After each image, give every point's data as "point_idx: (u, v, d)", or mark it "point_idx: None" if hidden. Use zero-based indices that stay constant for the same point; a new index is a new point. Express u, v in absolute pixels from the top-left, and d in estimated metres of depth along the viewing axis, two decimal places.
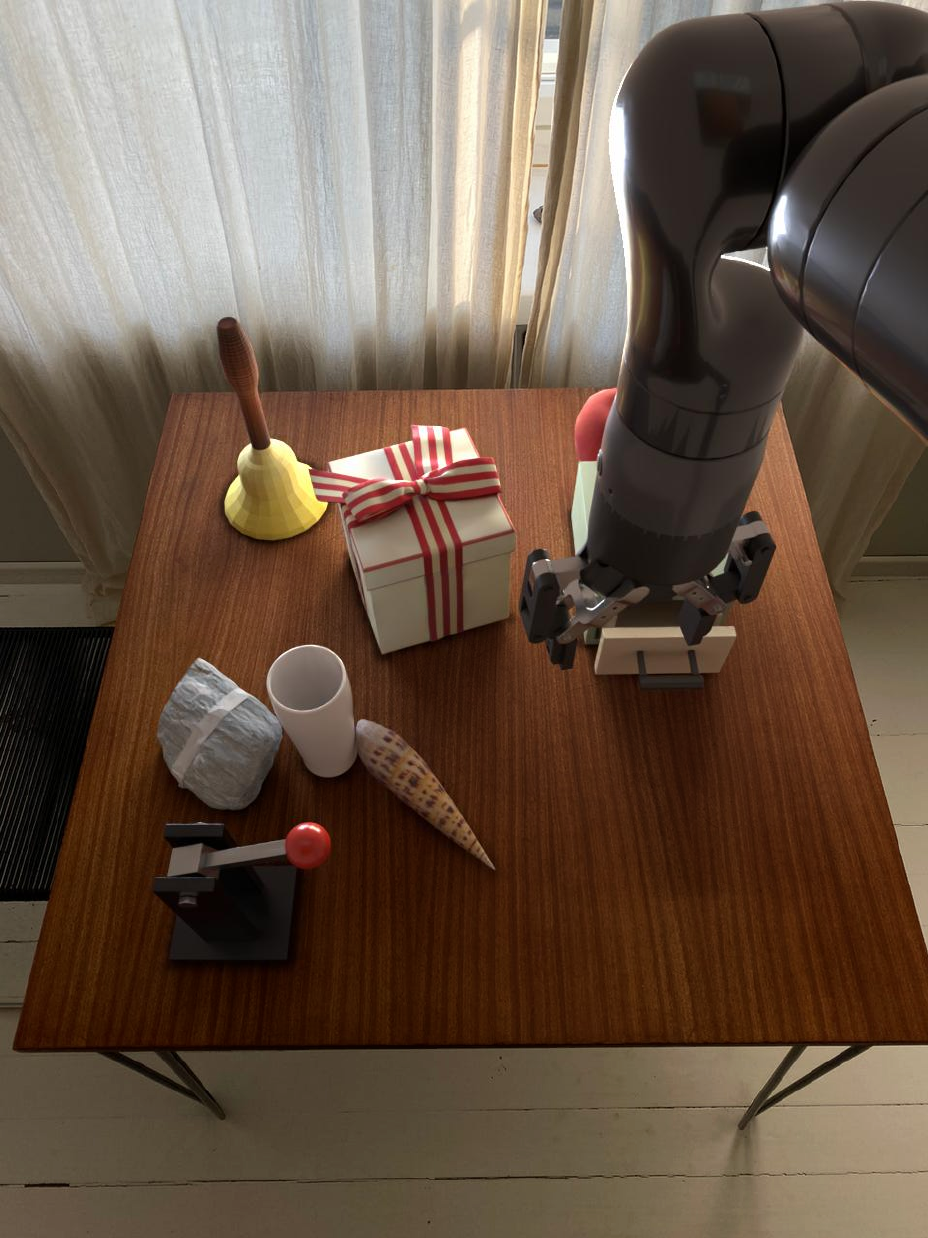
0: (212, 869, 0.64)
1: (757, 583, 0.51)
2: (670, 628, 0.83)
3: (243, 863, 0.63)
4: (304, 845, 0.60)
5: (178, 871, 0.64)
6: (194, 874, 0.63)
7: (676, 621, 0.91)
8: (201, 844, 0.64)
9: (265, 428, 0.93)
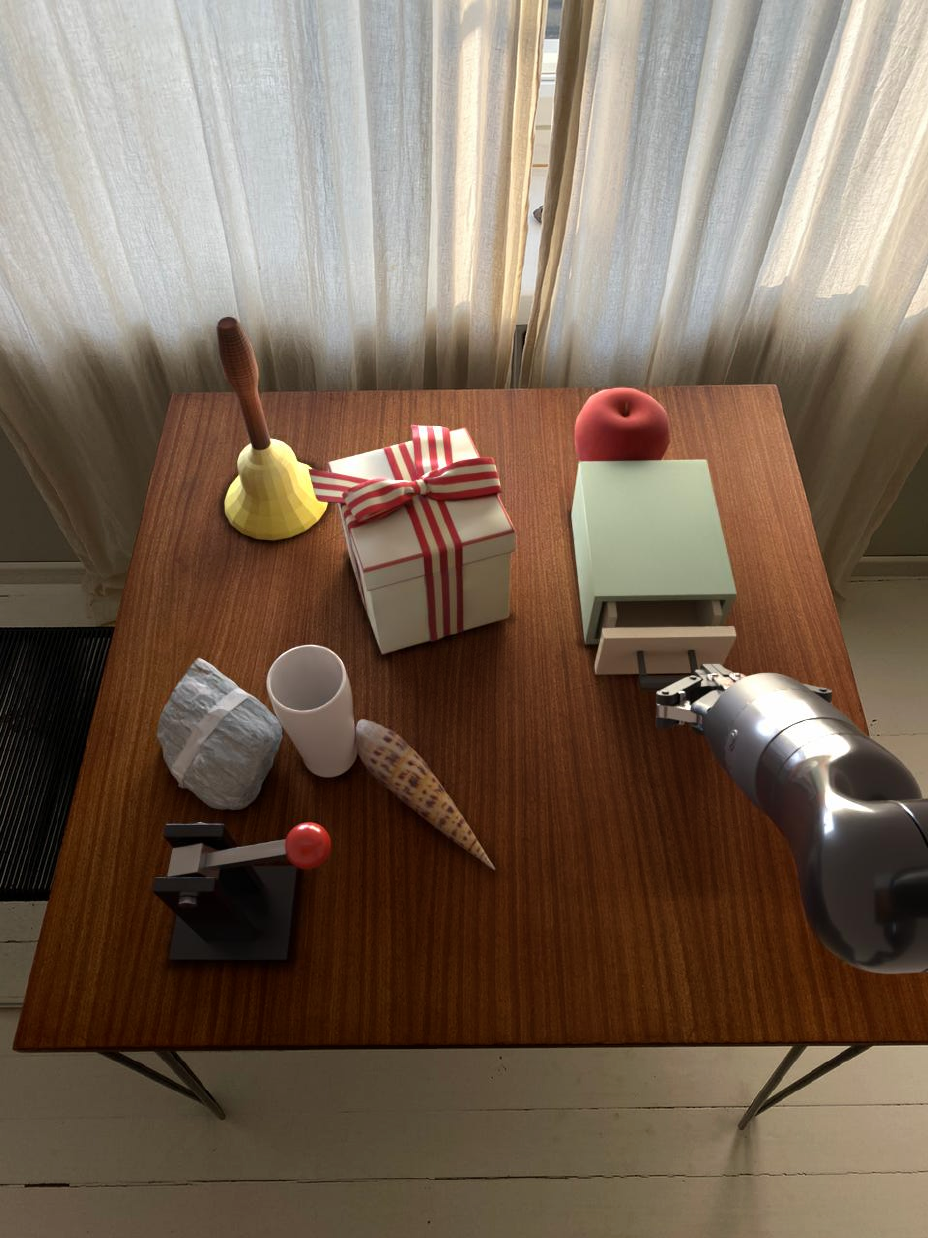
0: (212, 869, 0.64)
1: None
2: (670, 628, 0.83)
3: (243, 863, 0.63)
4: (304, 845, 0.60)
5: (178, 871, 0.64)
6: (194, 874, 0.63)
7: (676, 621, 0.91)
8: (201, 844, 0.64)
9: (265, 428, 0.93)
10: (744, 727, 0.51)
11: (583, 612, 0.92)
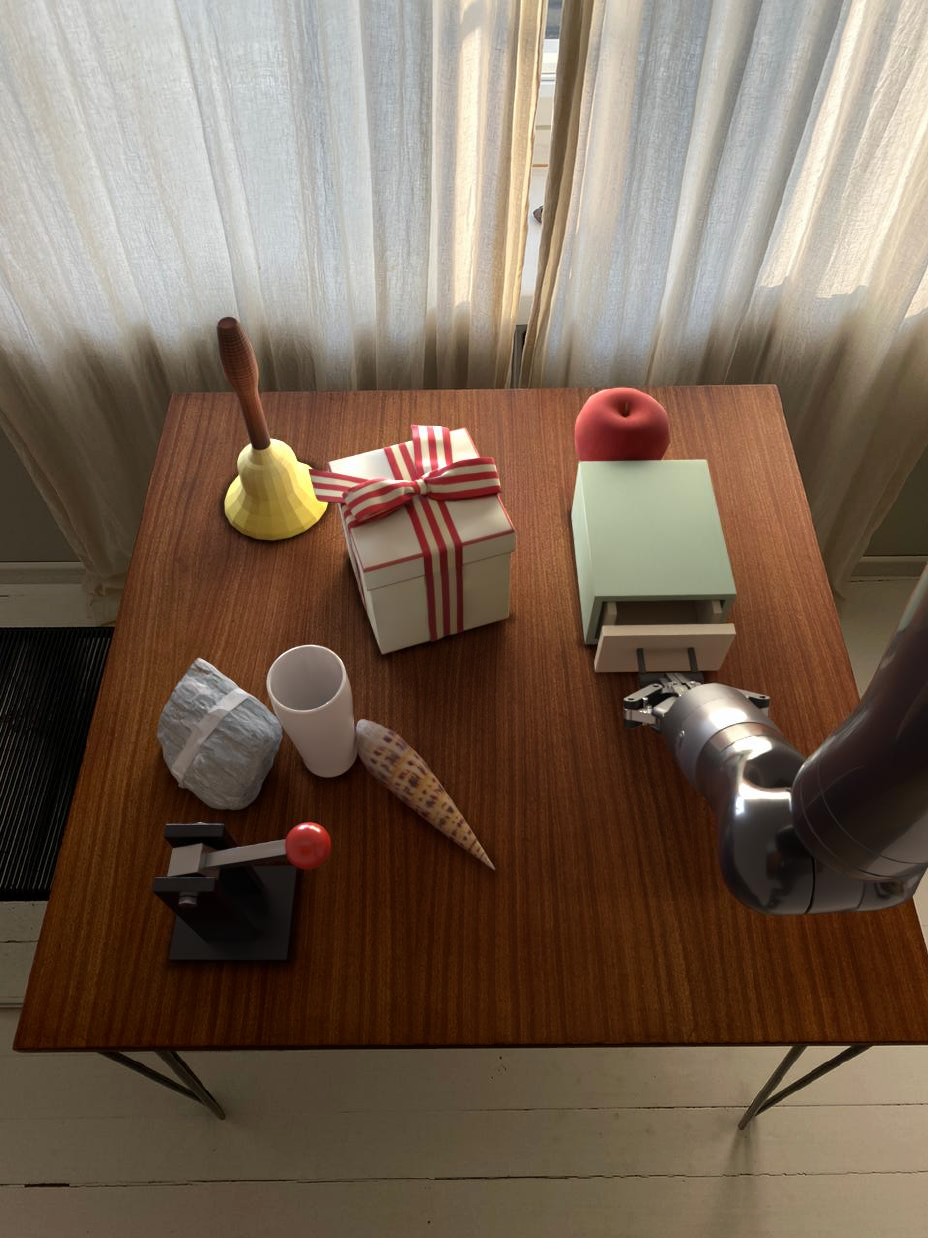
0: (212, 869, 0.64)
1: None
2: (670, 626, 0.83)
3: (243, 863, 0.63)
4: (304, 845, 0.60)
5: (178, 871, 0.64)
6: (194, 874, 0.63)
7: (676, 619, 0.91)
8: (201, 844, 0.64)
9: (265, 428, 0.93)
10: (689, 729, 0.64)
11: (583, 612, 0.92)
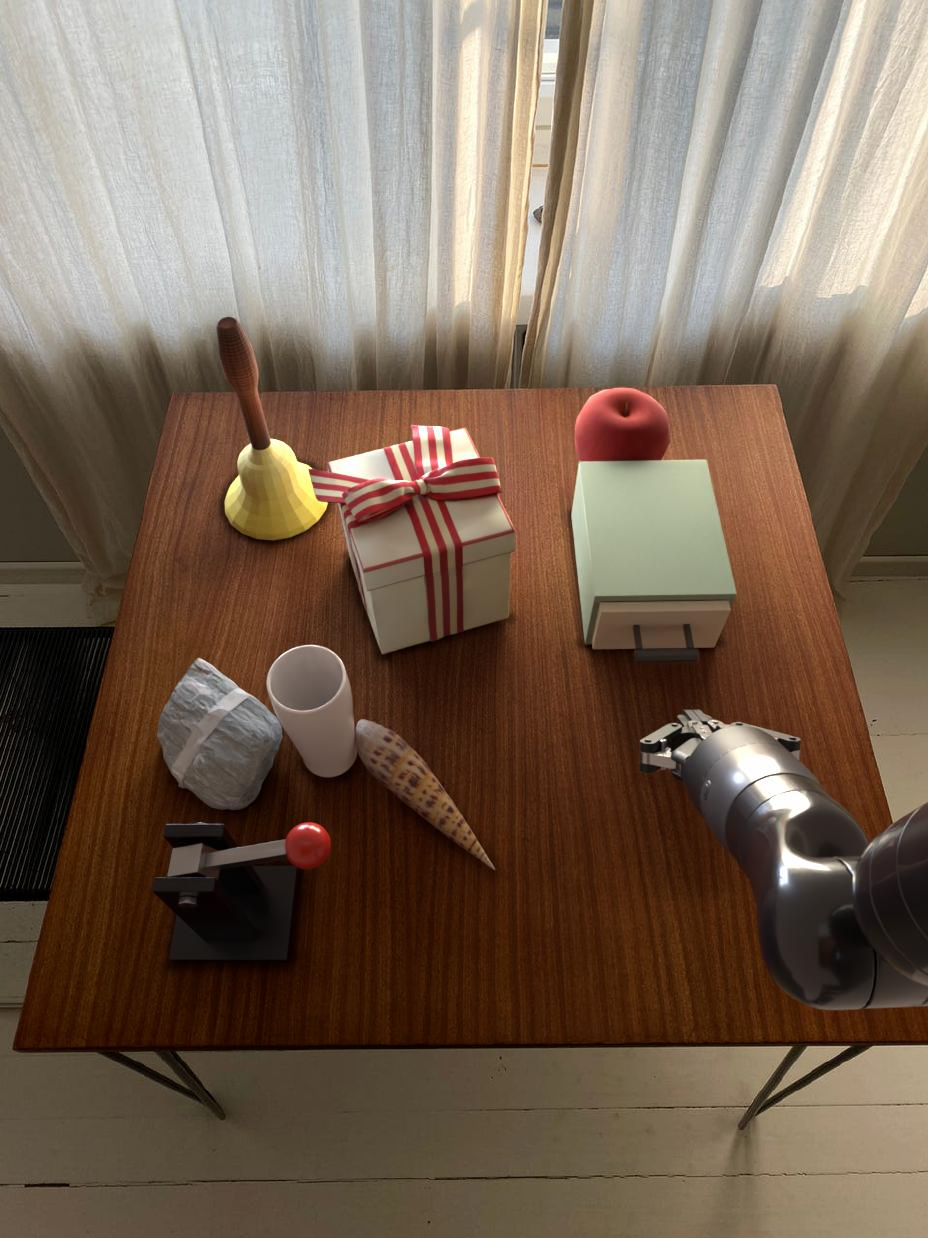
0: (212, 869, 0.64)
1: None
2: (666, 602, 0.85)
3: (243, 863, 0.63)
4: (304, 845, 0.60)
5: (178, 871, 0.64)
6: (194, 874, 0.63)
7: None
8: (201, 844, 0.64)
9: (265, 428, 0.93)
10: (716, 779, 0.57)
11: (583, 612, 0.92)
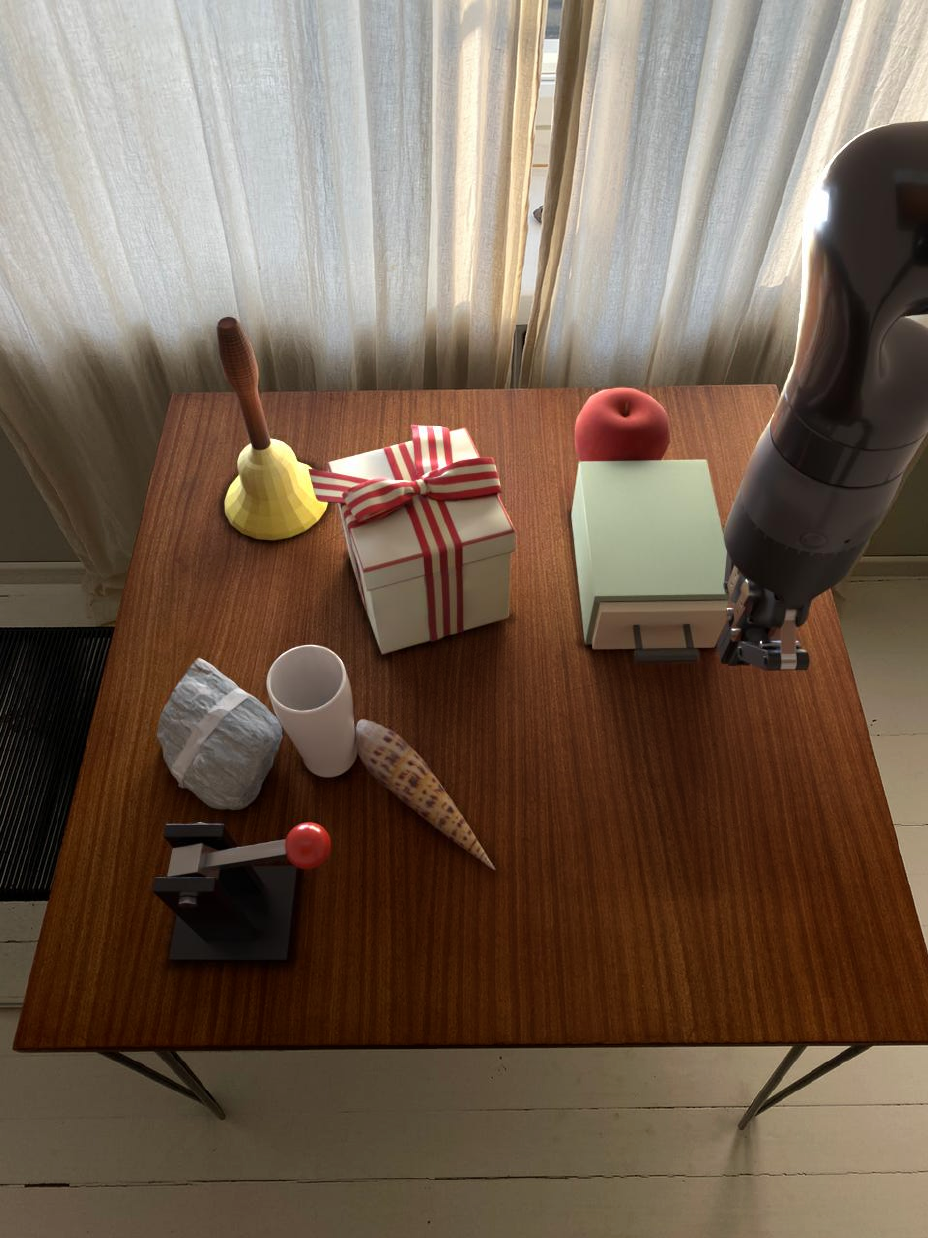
0: (212, 869, 0.64)
1: None
2: (666, 602, 0.85)
3: (243, 863, 0.63)
4: (304, 845, 0.60)
5: (178, 871, 0.64)
6: (194, 874, 0.63)
7: None
8: (201, 844, 0.64)
9: (265, 428, 0.93)
10: (796, 525, 0.45)
11: (583, 612, 0.92)
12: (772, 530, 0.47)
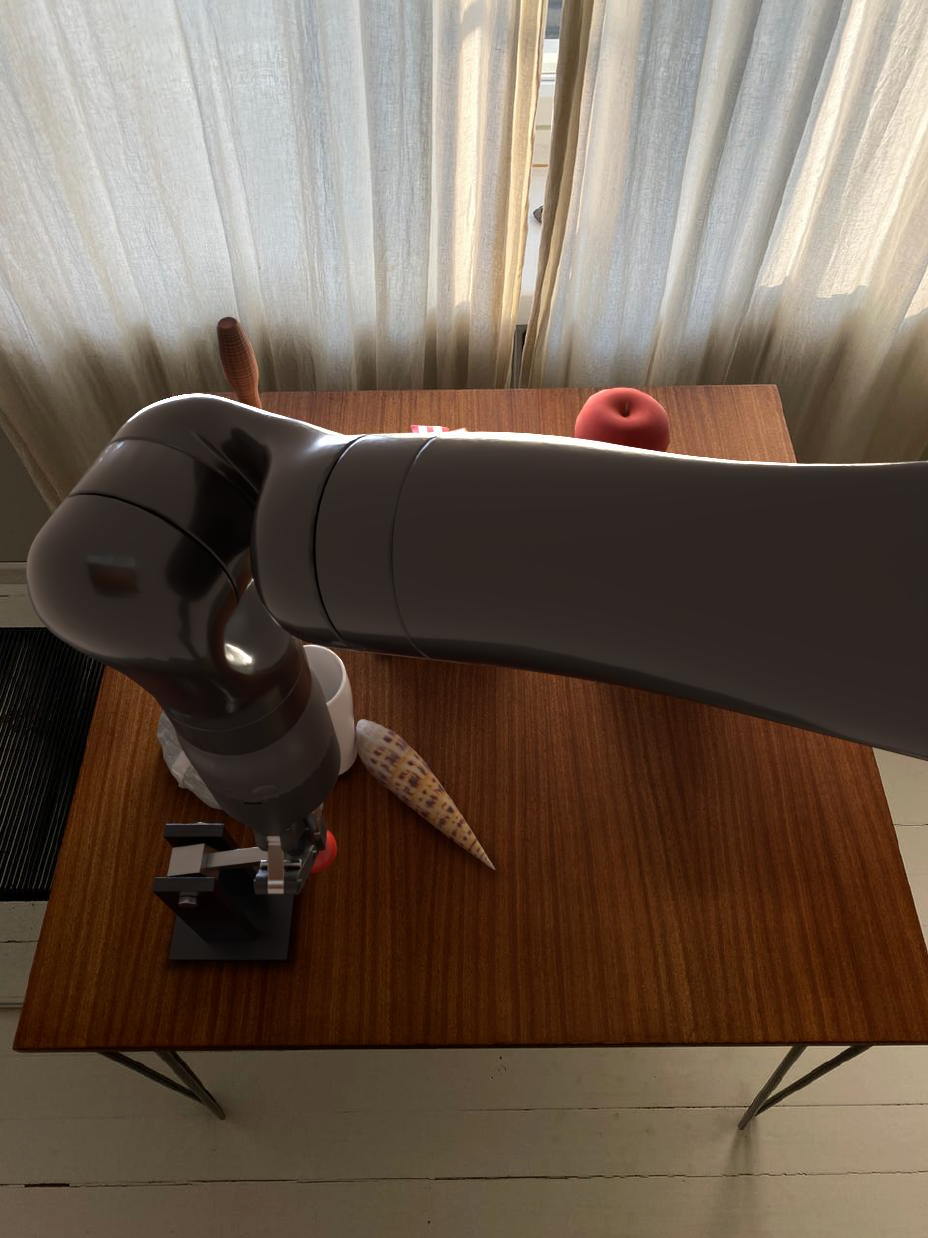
0: (213, 870, 0.64)
1: None
2: None
3: (247, 865, 0.63)
4: None
5: (179, 871, 0.64)
6: (196, 874, 0.63)
7: None
8: (203, 844, 0.64)
9: None
10: None
11: None
12: None
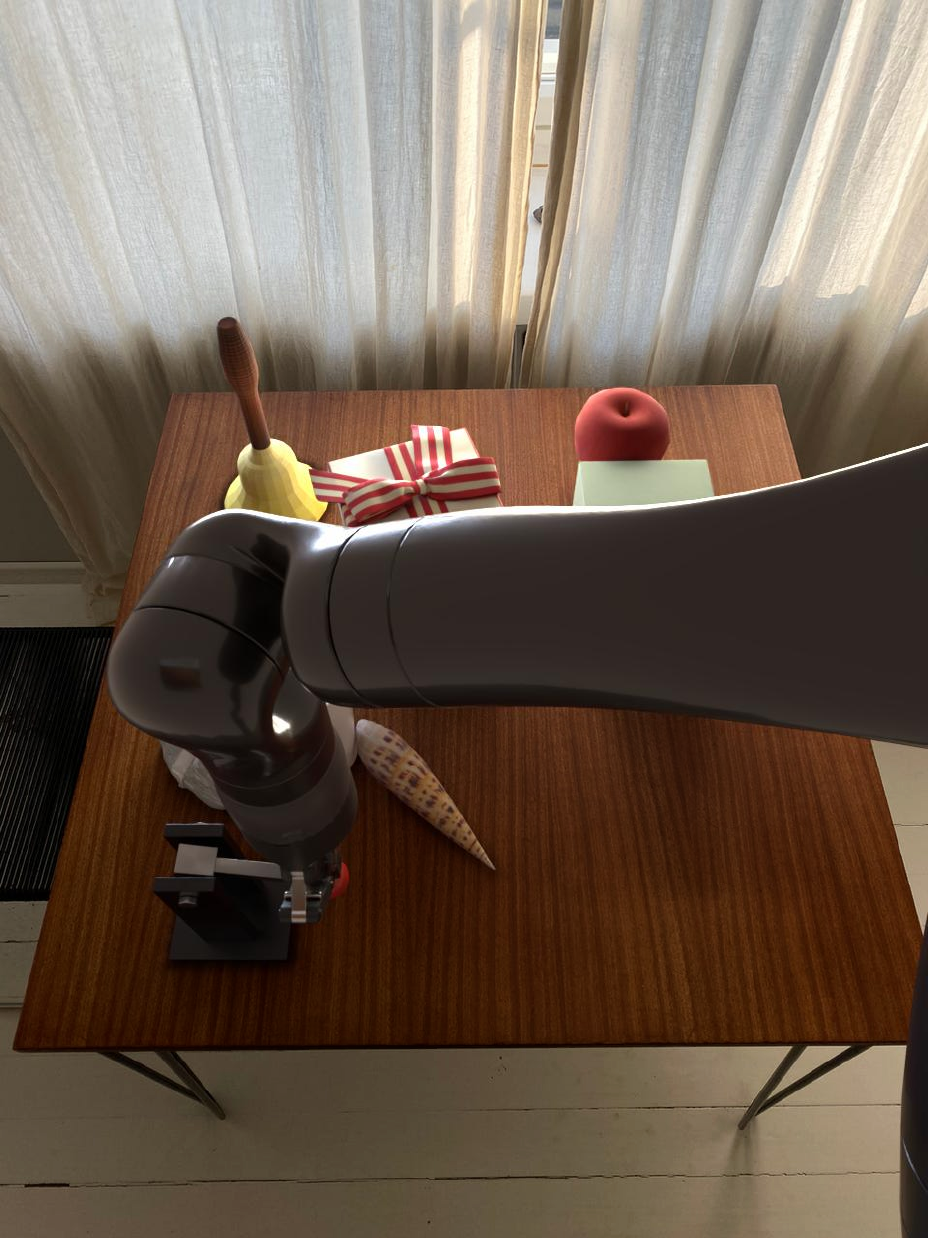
0: (215, 874, 0.65)
1: None
2: None
3: (256, 878, 0.66)
4: (340, 880, 0.66)
5: (188, 870, 0.63)
6: (206, 877, 0.64)
7: None
8: (217, 848, 0.65)
9: (265, 428, 0.93)
10: None
11: None
12: None
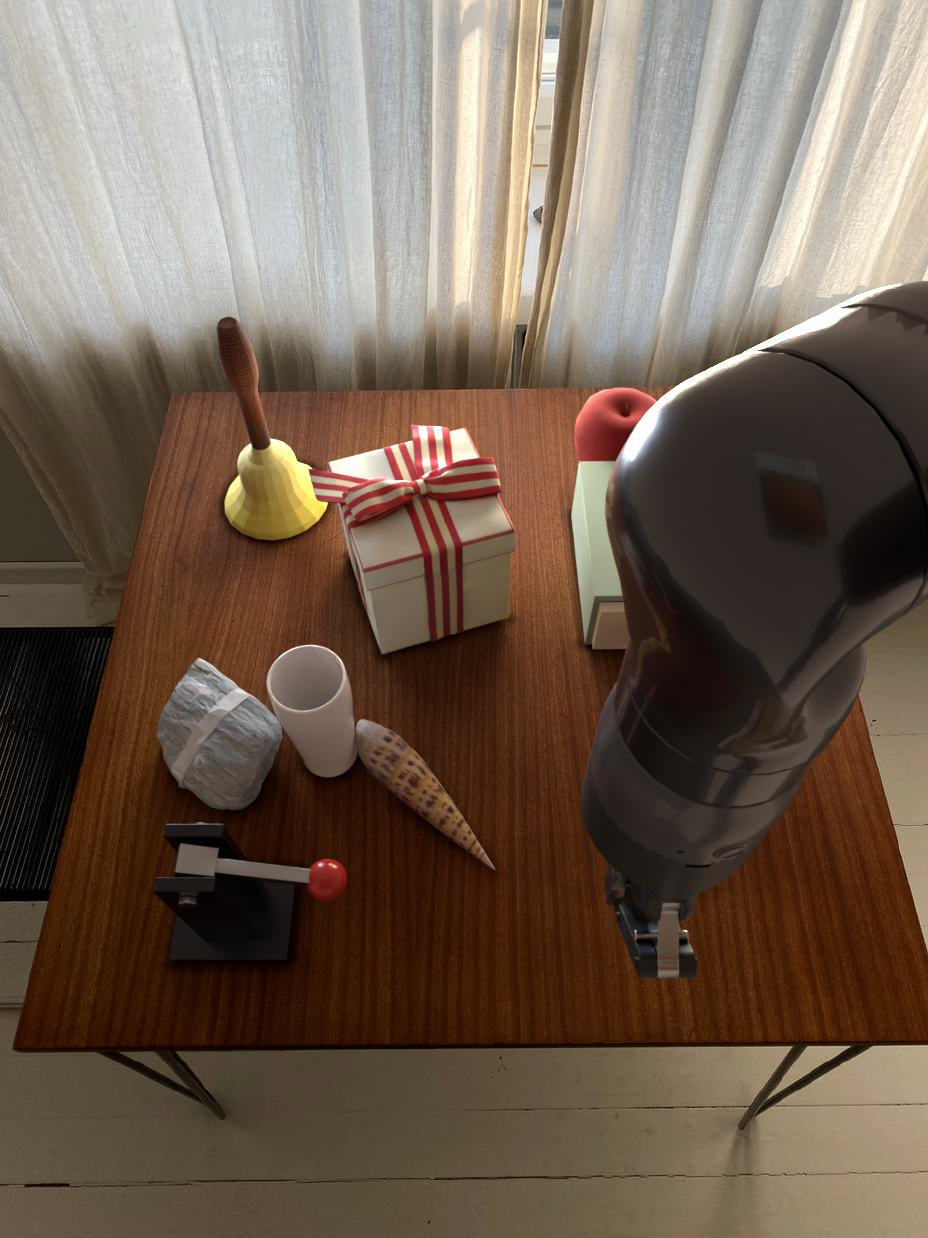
0: (215, 875, 0.65)
1: (624, 935, 0.41)
2: None
3: (255, 879, 0.66)
4: (339, 882, 0.67)
5: (190, 870, 0.63)
6: (207, 877, 0.64)
7: None
8: (218, 849, 0.65)
9: (265, 428, 0.93)
10: None
11: (583, 612, 0.92)
12: None
